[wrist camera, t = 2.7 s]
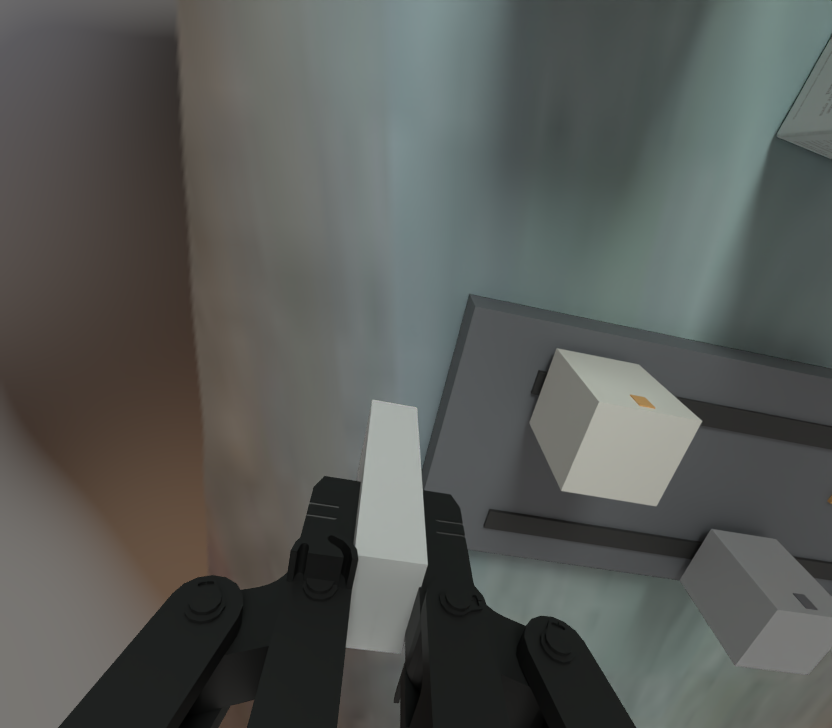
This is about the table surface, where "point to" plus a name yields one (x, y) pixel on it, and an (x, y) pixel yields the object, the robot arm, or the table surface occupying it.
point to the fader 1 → (610, 428)
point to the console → (694, 477)
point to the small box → (813, 110)
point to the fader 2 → (760, 602)
